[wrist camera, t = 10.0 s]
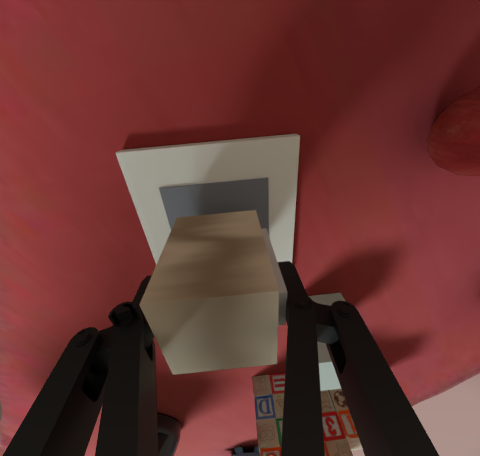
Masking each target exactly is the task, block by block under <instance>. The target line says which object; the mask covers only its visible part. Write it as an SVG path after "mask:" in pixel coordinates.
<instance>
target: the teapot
mask: <svg viewBox="0 0 480 456" xmlns="http://www.w3.org/2000/svg"><path fill="white" fill-rule="evenodd" d="M234 450H235V453H236V454H232V456H260V452H259V447H258V446H256V447H254V453H243V448H242V447H236V448H234Z"/></svg>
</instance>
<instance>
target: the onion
mask: <svg viewBox="0 0 480 456" xmlns="http://www.w3.org/2000/svg"><path fill="white" fill-rule="evenodd" d="M428 152H429V154H430V156H431V158H432V159H433V161H434V162H435V163H436V165H437V166H439V167H441V168H443V169H446V170H448V171H450V172H453V173H455V174H457V175H466V176H478V175H480V86H479V87H478V88H476V89H474V90H472V91H471V92H469V93H467V94H465V95H463V96H462V97H460V98H459V99H457V100H455V101H454V102H453V103H452V104H450V105H449V106H448V107H447V108H446V109H445V110H444V111H443V112H442V113H441V114H440V115H439V117H438V118H437V120H436V121H435V123H434V124H433V125H432V128H431V131H430V133H429V136H428Z"/></svg>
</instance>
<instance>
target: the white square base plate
mask: <svg viewBox="0 0 480 456" xmlns="http://www.w3.org/2000/svg"><path fill="white" fill-rule="evenodd" d="M299 147H300V135H298V134H287V135H276V136H265V137H255V138H244V139H233V140H222V141H212V142H201V143H190V144H179V145H169V146H158V147H147V148H136V149H126V150H121V151H118V152H116V156H117V159H118V162H119V164H120V167H121V170H122V173H123V175H124V178H125V181H126V183H127V186H128V189H129V192H130V194H131V197H132V200H133V203H134V205H135V208H136V211H137V214H138V216H139V219H140V222H141V225H142V227H143V230H144V233H145V235H146V238H147V241H148V244H149V246H150V249H151V252H152V255H153V257H154V260H155V263H156V265H157V262H158V260H159V258H160V255H161V253H162V251H163V248H164V246H165V244H166V241H167V239H168V237H169V234H170V232H171V230H172V227H173V225H174V223H175V220H176V218H177V217H187V216H198V215H208V214H219V213H230V212H240V211H251V210H256V212H257V216H258V219H259V223H260V226H261V229H264V228H266V229H267V232H268V235H269V238H270V241H271V244H272V247H273V250H274V253H275V256H276V259H277V262H284V261H290V262H291V263H292V256H293V241H294V225H295V209H296V194H297V178H298V162H299Z"/></svg>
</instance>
